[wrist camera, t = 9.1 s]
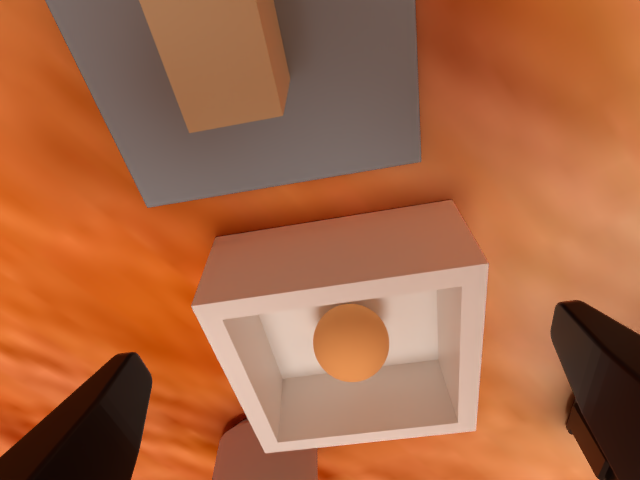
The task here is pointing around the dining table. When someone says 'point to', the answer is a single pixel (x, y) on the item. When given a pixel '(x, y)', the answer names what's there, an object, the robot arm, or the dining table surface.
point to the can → (260, 459)
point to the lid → (248, 89)
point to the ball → (351, 342)
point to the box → (350, 288)
